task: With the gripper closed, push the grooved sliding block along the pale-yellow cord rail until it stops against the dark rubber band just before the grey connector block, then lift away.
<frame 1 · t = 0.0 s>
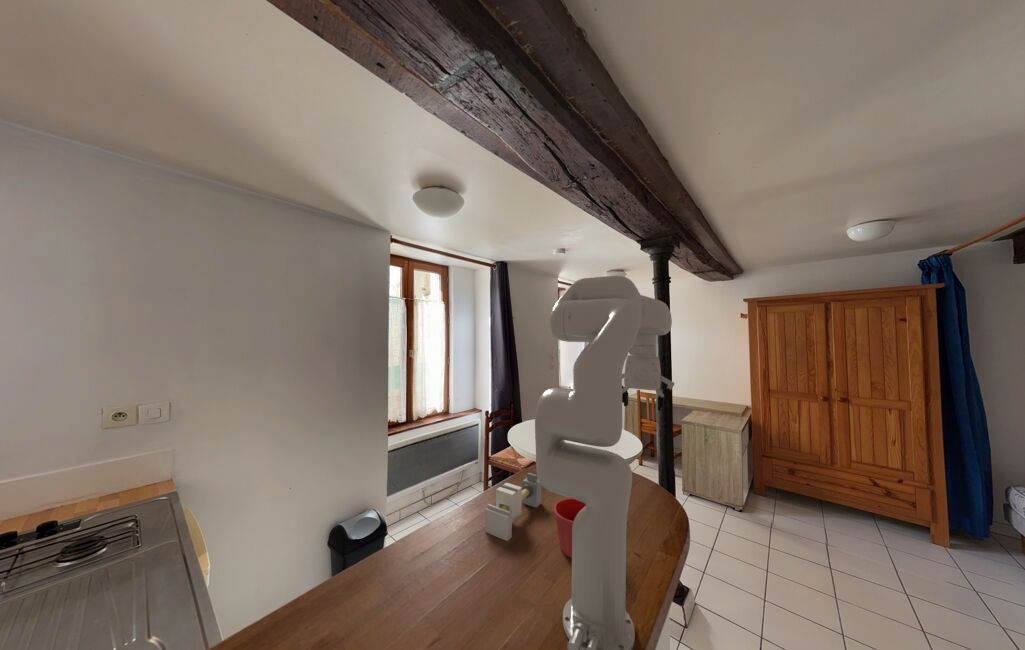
hand: (642, 407, 97), 31 cm above the table, fingers open, 9 cm apart
grooved sliding block: (508, 501, 88), point 6 cm above the table, slide at 0.0 cm
cord rail: (517, 516, 92), on the table
flower pot: (575, 549, 78), on the table
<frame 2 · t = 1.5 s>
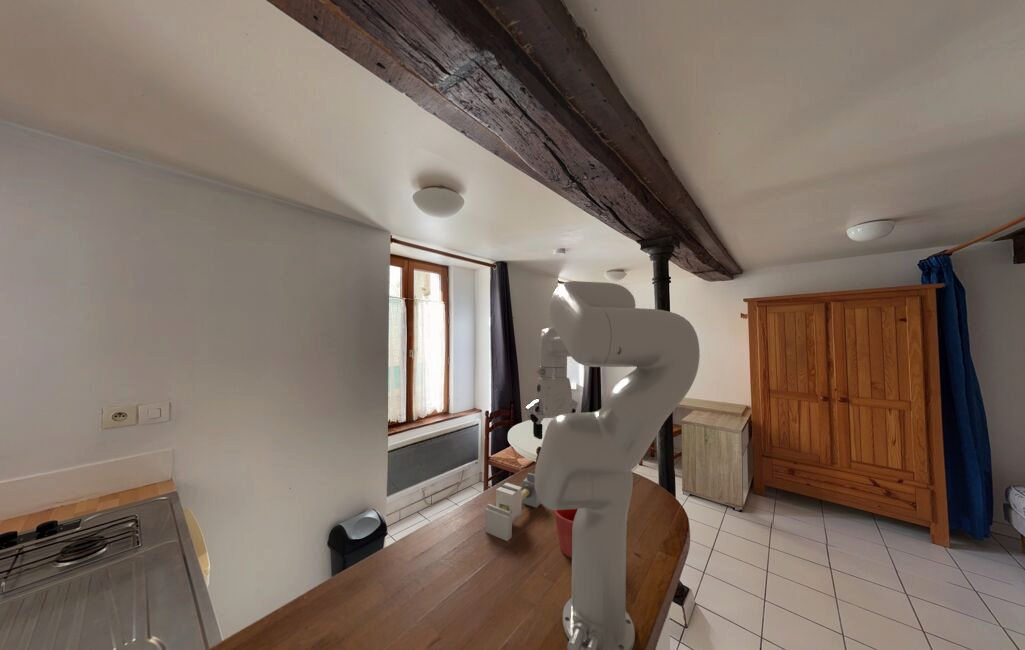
hand: (552, 435, 87), 25 cm above the table, fingers open, 9 cm apart
nothing on the table moved.
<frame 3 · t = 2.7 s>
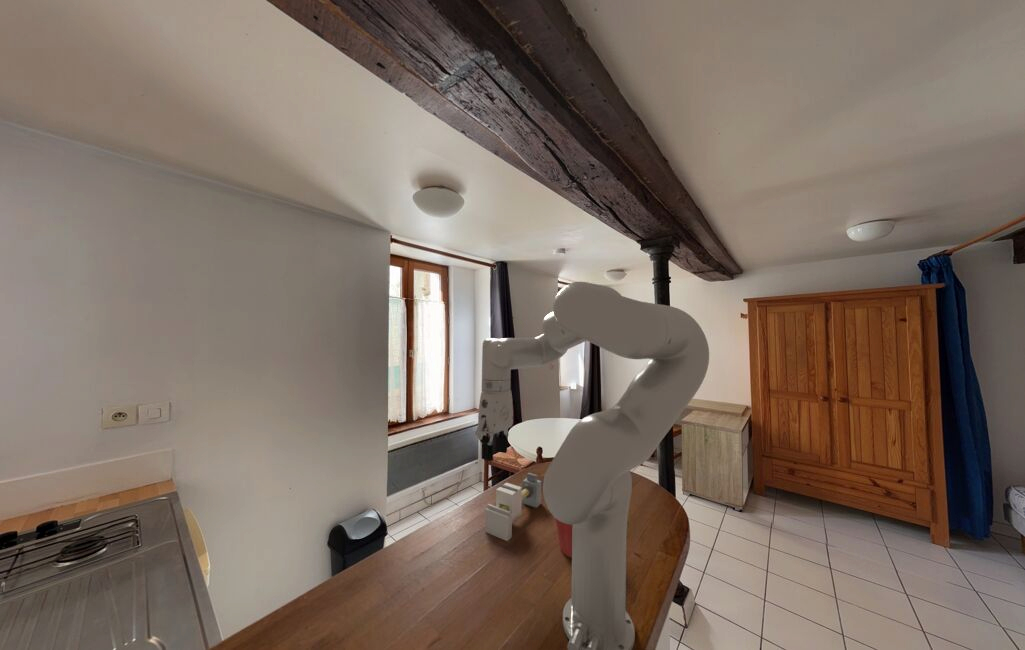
hand: (494, 455, 82), 22 cm above the table, fingers open, 5 cm apart
nothing on the table moved.
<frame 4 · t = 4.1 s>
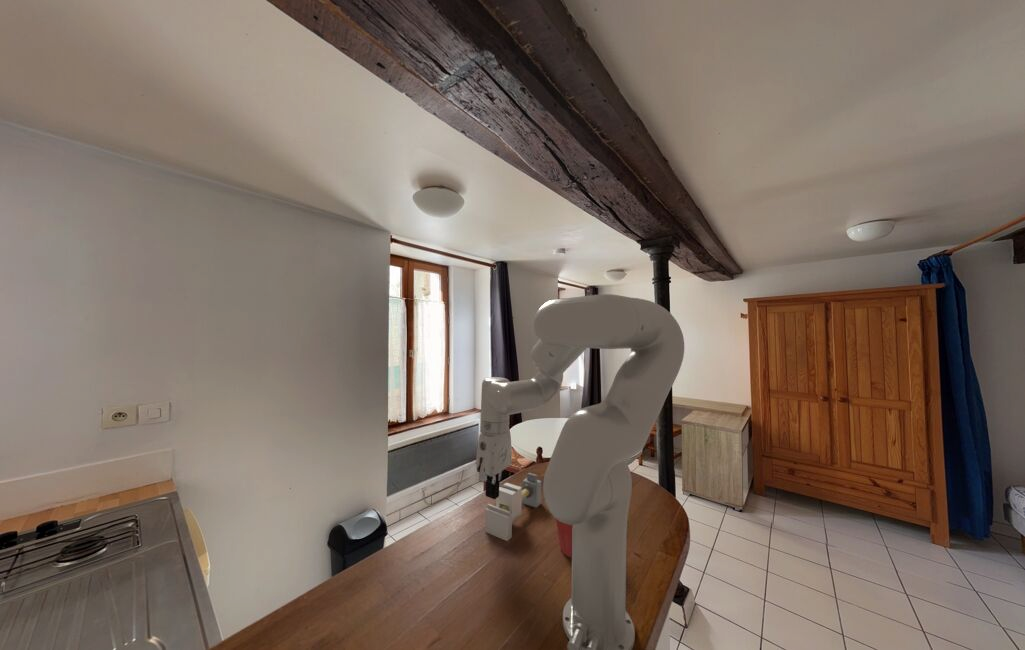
hand: (492, 496, 82), 11 cm above the table, fingers closed
nothing on the table moved.
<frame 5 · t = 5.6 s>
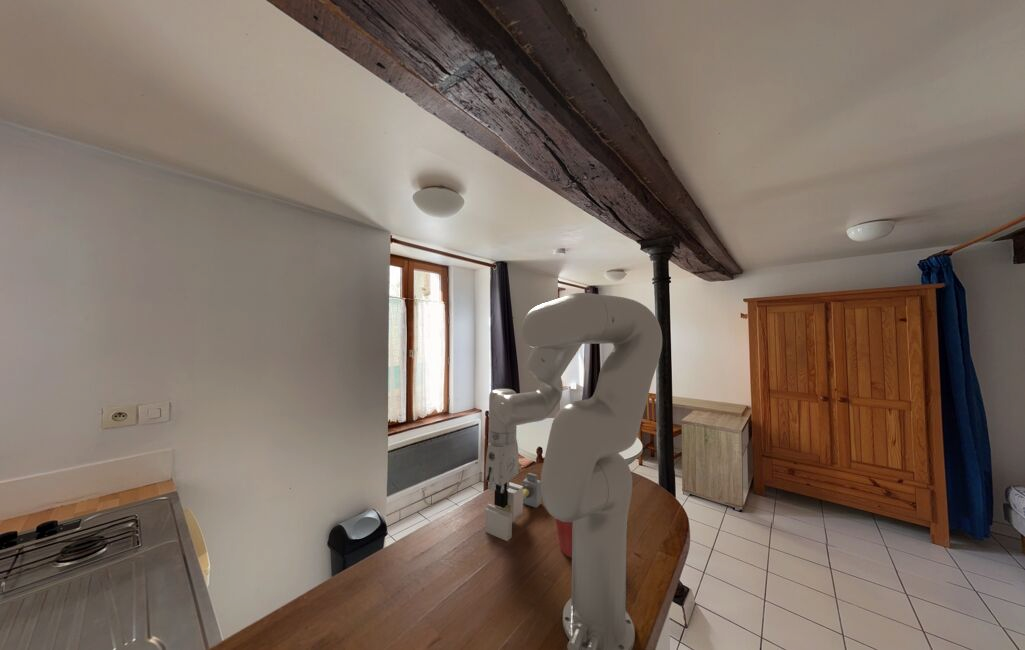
hand: (500, 505, 84), 7 cm above the table, fingers closed
grooved sliding block: (510, 500, 88), point 6 cm above the table, slide at 0.8 cm, touching gripper
everything else where it was.
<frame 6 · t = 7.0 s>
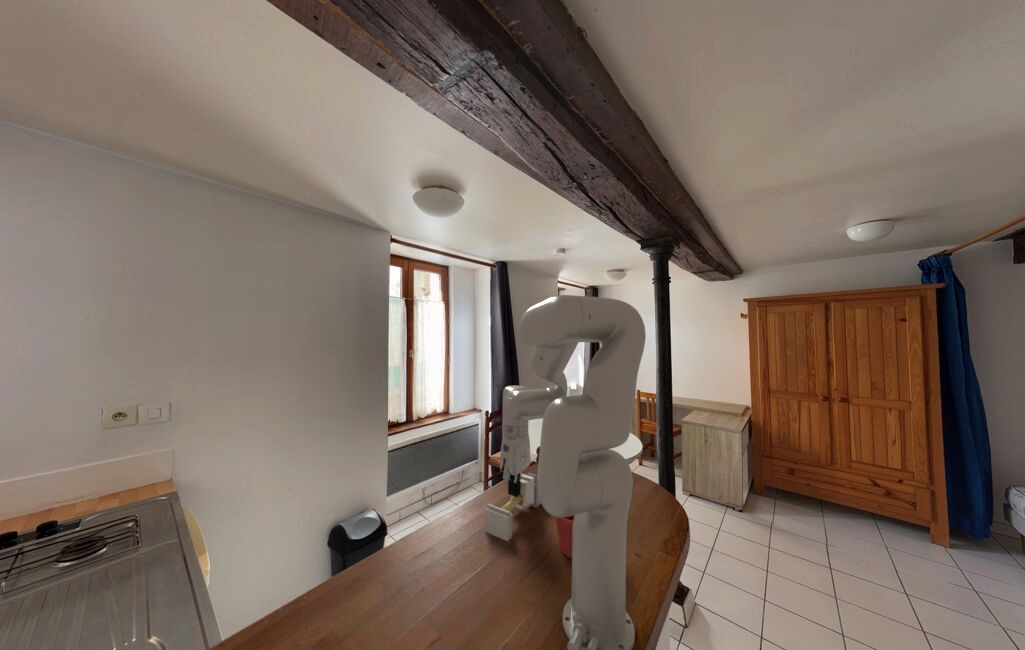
hand: (514, 494, 90), 7 cm above the table, fingers closed
grooved sliding block: (522, 490, 94), point 6 cm above the table, slide at 7.5 cm, touching cord rail, gripper
everything else where it was.
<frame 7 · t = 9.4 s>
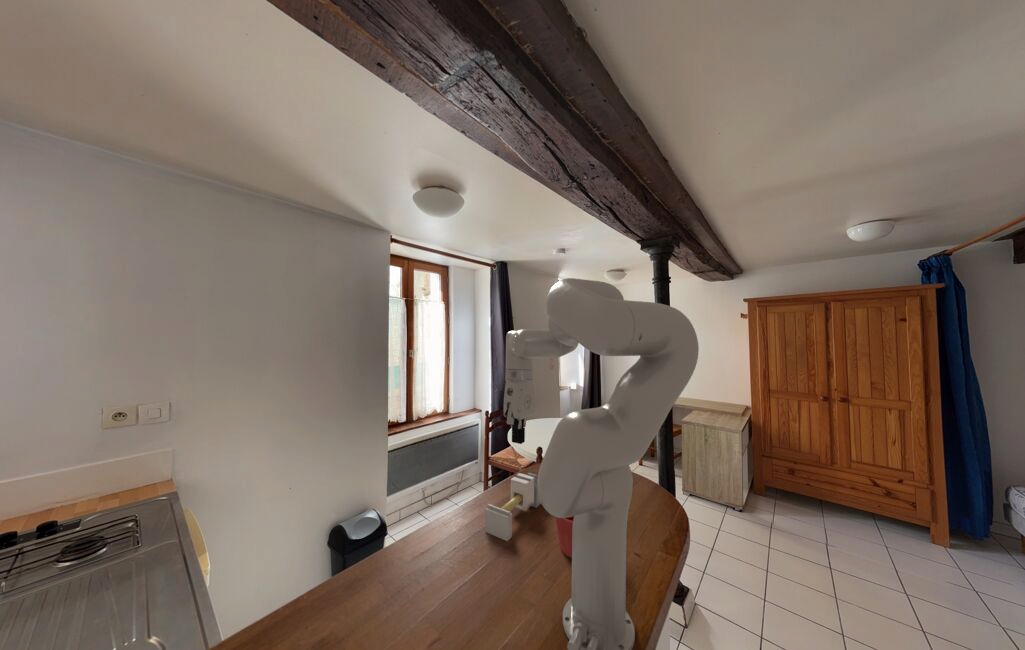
hand: (518, 442, 87), 23 cm above the table, fingers closed
grooved sliding block: (522, 490, 94), point 6 cm above the table, slide at 7.5 cm, touching cord rail
everything else where it was.
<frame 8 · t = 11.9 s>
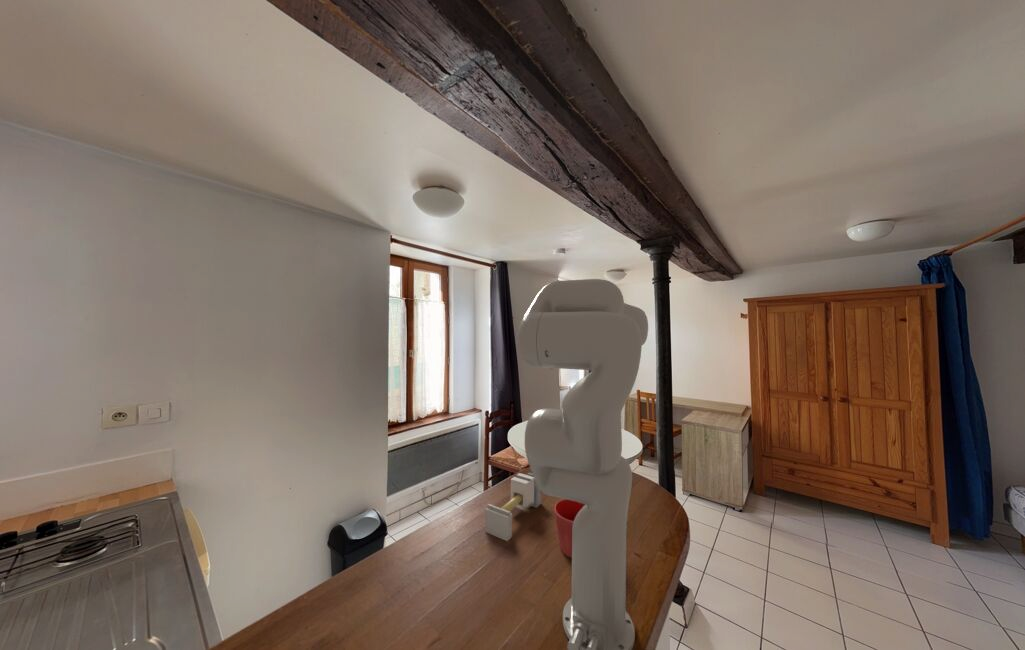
hand: (611, 432, 85), 27 cm above the table, fingers closed
nothing on the table moved.
at the end: grooved sliding block slide at 7.5 cm; the gripper is holding nothing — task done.
